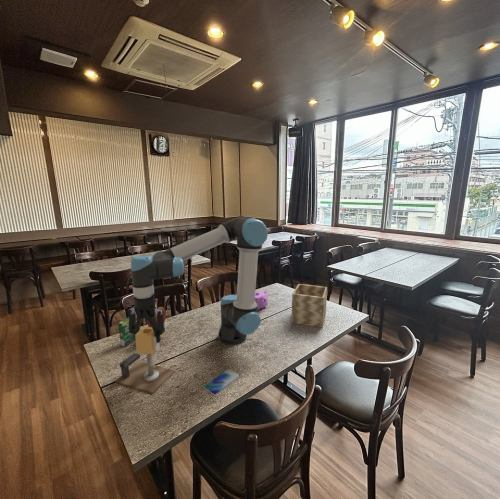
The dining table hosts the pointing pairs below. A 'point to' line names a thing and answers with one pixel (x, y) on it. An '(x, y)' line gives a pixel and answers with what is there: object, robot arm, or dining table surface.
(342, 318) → the dining table surface
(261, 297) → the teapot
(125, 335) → the coffee box
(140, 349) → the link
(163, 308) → the mug
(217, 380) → the smartphone
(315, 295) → the planter
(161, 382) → the base
